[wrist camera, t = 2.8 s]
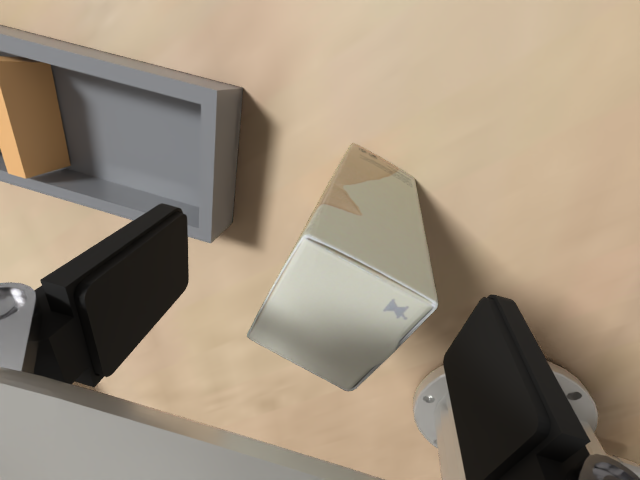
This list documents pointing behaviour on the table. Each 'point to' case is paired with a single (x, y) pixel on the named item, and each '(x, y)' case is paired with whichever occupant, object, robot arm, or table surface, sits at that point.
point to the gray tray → (137, 135)
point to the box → (352, 276)
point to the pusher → (30, 118)
